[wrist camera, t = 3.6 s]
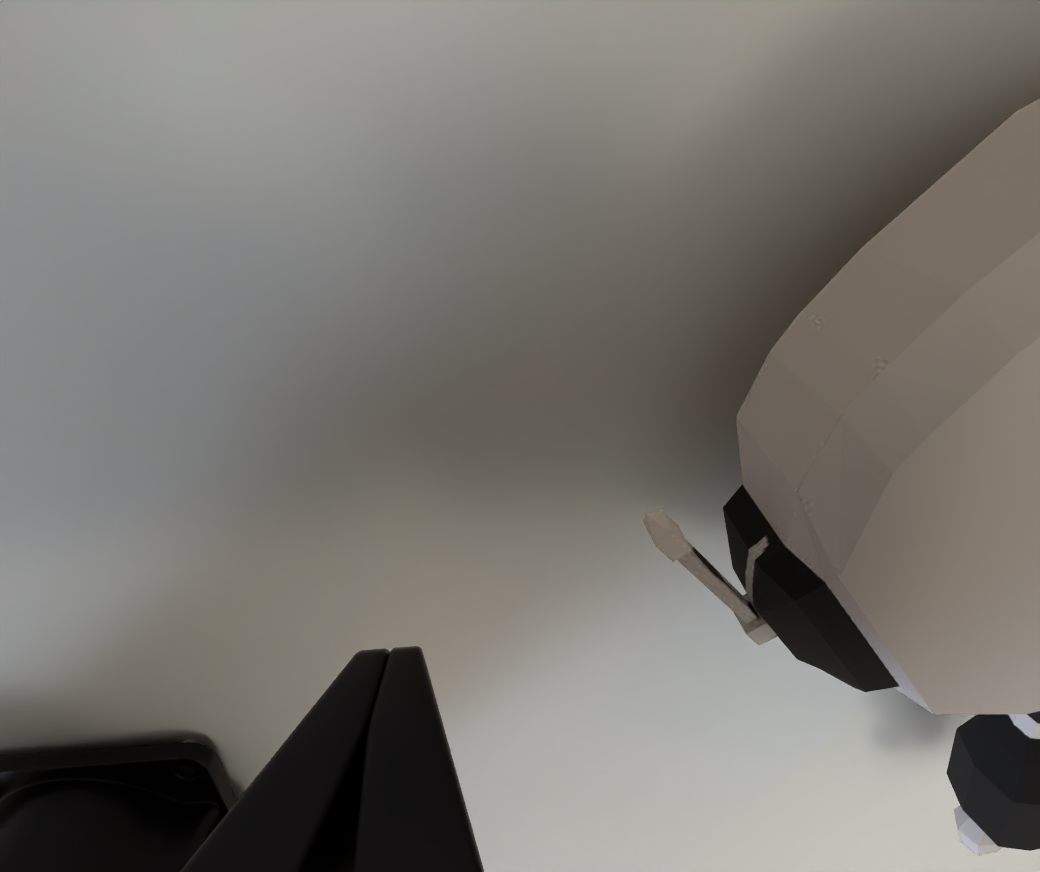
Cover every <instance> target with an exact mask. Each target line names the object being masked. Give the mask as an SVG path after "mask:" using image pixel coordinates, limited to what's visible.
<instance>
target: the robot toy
mask: <svg viewBox="0 0 1040 872" xmlns="http://www.w3.org/2000/svg"><path fill="white" fill-rule="evenodd" d="M736 423H737V433H738V443H739V453H740V464H741V474H742V485H741V487H740V488H739V489H738V490H737V491H736V493H735V494H734V495H733V496H732V497H731V499H730V500H729V501H728V502H727V503H726V505H725V506H724V507H723V511H724V517H725V523H726V529H727V535H728V542H729V548H730V554H731V559H732V565H733V569H734V571H735V573H736V574H737V576H738V578H739V580H740V582H741V583H742V585H743V587H744V589H745V591H746V593H747V594H745V595H744V596H742V595H741V594H740V593H739V592H738V591H737V590H736V589H735V588H734V587H733V586H732V585H731V584H730V583H729V582H728V581H727V580H726V579H725V578H724V577H723V576H722V575H721V574H720V573H719V572H718V571H717V570H716V569H715V568H714V567H713V566H712V565H711V564H710V563H709V562H708V561H707V560H706V559H705V558H704V557H703V556H702V555H701V554H700V553H699V552H698V551H697V550H696V549H695V548H694V547H693V546H692V545H691V544H690V543H689V542H688V541H687V540H686V539H685V538H684V536H683V534H682V532H681V530H680V529H679V527H678V525H677V524H676V523H675V522H674V521H673V520H672V519H671V518H670V517H669V516H668V515H667V514H666V513H665V512H664V511H663V510H662V509H661V510H658V511H654V512H651V513H647V514H645V515H644V519H643V522H644V524H645V526H646V528H647V530H648V532H649V534H650V536H651V538H652V540H653V542H654V544H655V545H656V547H657V548H658V549H659V550H660V551H662V552H663V553H664V554H665V555H666V556H667V557H668V558H669V559H670V560H672V561H673V562H674V561H675V560H678V561H679V562H680V563H681V564H682V565H683V566H685V567H686V568H687V569H688V570H689V571H690V572H691V573H692V574H693V575H694V576H695V577H697V578H698V579H699V580H700V581H701V582H702V583H703V584H704V585H705V586H706V587H707V588H709V589H710V590H711V591H712V592H713V593H714V594H715V595H716V596H717V597H718V598H719V599H721V600H722V601H723V602H724V603H725V604H726V605H727V606H728V607H729V608H730V609H731V610H732V611H733V612H734V613H735V615H736V617H737V619H738V620H739V622H740V624H741V626H742V627H743V629H744V631H745V633H746V634H747V635H748V636H749V637H750V638H751V639H752V640H753V641H755V642H756V643H757V644H758V645H759V646H760V645H762V644H763V643H765V642H767V641H769V640H771V639H773V638H775V637H776V636H778V637H779V638H780V639H781V641H782V642H783V643H784V644H785V645H786V647H787V648H788V649H789V650H790V651H791V653H792V654H793V655H794V656H795V657H796V658H797V659H798V660H800V661H803V662H805V663H807V664H810V665H812V666H815V667H817V668H819V669H821V670H823V671H825V672H827V673H828V674H830V675H832V676H834V677H836V678H837V679H839V680H841V681H843V682H845V683H847V684H848V685H850V686H852V687H854V688H856V689H859V690H862V691H864V692H868V691H874V690H880V689H886V688H895V689H896V690H898V691H899V692H901V693H902V694H904V695H905V696H907V697H908V698H910V699H911V700H913V701H914V702H916V703H917V704H919V705H920V706H922V707H923V708H925V709H926V710H928V711H929V712H931V713H932V714H979V715H976V716H974V717H973V718H971V719H970V720H968V721H967V722H966V723H964V724H963V725H961V726H960V727H959V728H957V730H956V734H955V739H954V743H953V747H952V752H951V756H950V761H949V765H948V769H947V775H948V777H949V780H950V782H951V784H952V787H953V789H954V791H955V794H956V796H957V798H958V801H959V803H960V805H961V806H959V807H957V808H956V809H954V813H955V818H956V823H957V829H958V834H959V838H960V842H961V843H962V844H963V845H965V846H966V847H967V848H968V849H969V850H971V851H972V852H973V853H974V854H976V855H977V856H979V855H984V854H989V853H994V852H997V851H998V850H1000V849H1001V848H1002V847H1007V848H1014V849H1022V850H1029V851H1030V850H1035V849H1040V99H1038V100H1036V101H1034V102H1032V103H1030V104H1029V105H1027V106H1025V107H1023V108H1021V109H1019V110H1018V111H1016V112H1015V113H1014V114H1012V115H1011V116H1010V117H1009V118H1008V119H1007V120H1006V121H1005V122H1003V123H1002V124H1001V125H1000V126H999V127H998V128H997V129H995V130H994V131H993V132H992V133H991V134H990V135H989V136H988V137H986V138H985V139H984V140H983V141H982V142H981V143H980V144H978V145H977V146H976V147H975V148H974V149H973V150H972V151H971V152H969V153H968V154H967V155H966V156H965V157H964V158H963V159H961V160H960V161H959V162H958V163H957V164H956V165H955V166H954V167H952V168H951V169H950V170H949V171H948V172H947V173H946V174H944V175H943V176H942V177H941V178H940V179H939V180H938V181H937V182H935V183H934V184H933V185H932V186H931V187H930V188H929V189H927V190H926V191H925V192H924V193H923V194H922V195H921V196H919V197H918V198H917V199H916V200H915V201H914V202H913V203H912V204H910V205H909V206H908V207H907V208H906V209H905V210H904V211H902V212H901V213H900V214H899V215H898V216H897V217H896V218H895V219H893V220H892V221H891V222H890V223H889V224H888V225H887V226H885V227H884V228H883V229H882V230H881V231H880V232H879V233H878V234H876V235H875V236H874V237H873V238H872V239H871V240H870V241H868V242H867V243H866V244H865V245H864V246H863V247H862V248H861V249H860V250H859V251H858V252H857V253H856V254H855V255H854V256H853V257H852V258H851V259H850V260H849V261H848V262H847V263H846V265H845V266H844V267H843V268H842V269H841V270H840V271H839V272H838V273H837V274H836V275H835V276H834V277H833V278H832V279H831V280H830V282H829V283H828V284H827V285H826V286H825V287H824V288H823V289H822V290H821V291H820V292H819V293H818V294H817V295H816V296H815V297H814V298H813V300H812V301H811V302H810V303H809V304H808V305H807V306H806V307H805V308H804V309H803V310H802V311H801V312H800V313H799V314H798V316H797V317H796V318H795V319H794V321H793V322H792V323H791V325H790V326H789V327H788V328H787V330H786V331H785V332H784V334H783V335H782V336H781V337H780V339H779V340H778V341H777V343H776V344H775V345H774V346H773V348H772V349H771V350H770V352H769V354H768V356H767V358H766V360H765V361H764V363H763V365H762V367H761V369H760V371H759V373H758V375H757V377H756V379H755V381H754V383H753V385H752V387H751V389H750V391H749V392H748V394H747V396H746V398H745V400H744V402H743V404H742V406H741V408H740V410H739V412H738V414H737V416H736Z"/></svg>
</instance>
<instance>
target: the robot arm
mask: <svg viewBox="0 0 1040 872" xmlns="http://www.w3.org/2000/svg"><path fill="white" fill-rule="evenodd" d="M0 872H484V869H483V866H482V862H481V859H480V855H479V851H478V848H477V844H476V841H475V837H474V834H473V830H472V826H471V823H470V819H469V816H468V812H467V809H466V805H465V801H464V798H463V794H462V791H461V787H460V784H459V780H458V776H457V773H456V769H455V766H454V762H453V759H452V755H451V751H450V748H449V744H448V741H447V737H446V734H445V730H444V726H443V723H442V719H441V716H440V712H439V709H438V705H437V701H436V698H435V694H434V691H433V687H432V684H431V680H430V676H429V673H428V669H427V666H426V662H425V659H424V655H423V652H422V649H421V648H420V647H418V646H412V647H399V648H393V649H392V650H391V651H389V650H387V649H373V650H362V651H359V652H358V653H356V654H355V655H354V657H353V658H352V659H351V660H350V662H349V663H348V664H347V665H346V667H345V668H344V669H343V670H342V671H341V673H340V674H339V675H338V676H337V678H336V679H335V680H334V681H333V683H332V684H331V685H330V686H329V688H328V689H327V690H326V691H325V693H324V694H323V695H322V696H321V698H320V699H319V700H318V701H317V703H316V704H315V705H314V706H313V707H312V709H311V710H310V711H309V712H308V714H307V715H306V716H305V717H304V719H303V720H302V721H301V722H300V724H299V725H298V726H297V727H296V729H295V730H294V731H293V732H292V734H291V735H290V736H289V737H288V739H287V740H286V741H285V742H284V743H283V745H282V746H281V747H280V748H279V750H278V751H277V752H276V753H275V755H274V756H273V757H272V758H271V760H270V761H269V762H268V763H267V765H266V766H265V767H264V768H263V770H262V771H261V772H260V773H259V775H258V776H257V777H256V778H255V779H254V781H253V782H252V783H251V784H250V786H249V787H248V788H247V789H246V791H245V792H244V793H243V794H242V796H241V797H240V798H239V799H238V801H236V798H235V796H234V794H233V791H232V789H231V787H230V785H229V782H228V780H227V778H226V775H225V773H224V771H223V769H222V766H221V764H220V762H219V759H218V757H217V755H216V754H215V752H214V751H213V750H212V749H211V748H209V747H208V746H206V745H203V744H200V743H193V742H185V743H172V744H159V745H146V746H133V747H120V748H107V749H94V750H81V751H68V752H55V753H42V754H29V755H16V756H3V757H0Z"/></svg>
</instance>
